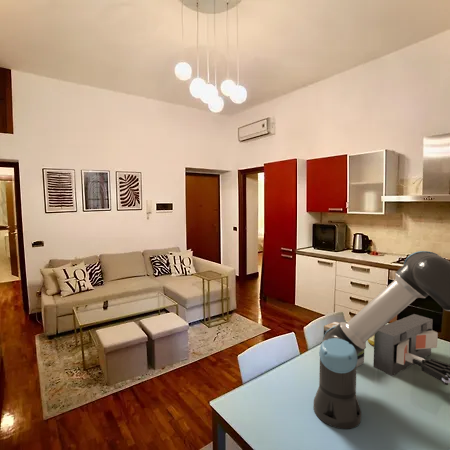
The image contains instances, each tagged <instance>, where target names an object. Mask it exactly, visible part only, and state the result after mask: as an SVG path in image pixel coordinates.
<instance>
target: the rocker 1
mask: <svg viewBox="0 0 450 450" xmlns="http://www.w3.org/2000/svg"><path fill="white" fill-rule="evenodd" d="M407 352H408V353H409V339H407V340H405V341H402V342H400V343H399V344H398V346H397V360H396V363H399V364H402V365H404V364H405V361H406V360H405V353H407Z"/></svg>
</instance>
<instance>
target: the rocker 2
mask: <svg viewBox="0 0 450 450" xmlns="http://www.w3.org/2000/svg"><path fill="white" fill-rule="evenodd" d="M438 335H439V333H438V332H437V331H435V330H433V329H432V330H431V331H424V332H422V333H420V334H417V335H416V350H417V349H427V348H431V349H434V348H438V337H439V336H438Z"/></svg>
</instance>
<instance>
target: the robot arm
mask: <svg viewBox="0 0 450 450" xmlns="http://www.w3.org/2000/svg"><path fill="white" fill-rule="evenodd" d="M394 275H395V278H394V280H392V281H391V283H389V284H388V285H387V286H386V287H385V288H384V289H382V291H380V292H379V294H377V295H376V296H375V297H374V298H373V299H372V300H371V301H370V302H368V303H367V304H366V305H365V306H363V308H362V309H361V310H360V311H358V312H357V313H356V314H355V315H354V316H353V317H352V318H350V319H349V320H348V321H347V322H346V321H345V322H344V321H341V322H339V323H340V324H338V325H337V326H335V327H332V328H330V329H329V330H328V331H327V332H326V333H325V335H324V334H323V337H322V342H321V344H320V347H319V352H318V353H319V374H318V375H319V378H318V380H319V381H318V382H319V383H318V385H319V386H318V389H317V391H316V394H315V396H314V399H313V411H314V414H315V415H316V416H317V418H318V419H319V420H320V421H322V422H323V423H324V424H327V425H328V426H331V427H333V428H337V429H343V430H348V429H349V430H350V429H353V428H356V427H357V426H359V425H360V423H361V420H362V410H361V407H360V404H359V401H358V396H357V370H358V369H357V368H358V367H357V355H358V354H359V353H361V352H362V351H363V350H364V351H365V349H366V348H367V346H366V343H367V342H368V339H369V338H371V337H372V336H373V335H374V334H375V333H376V332H378V331H379V330H380V329H381V328H382V327H384V326H385V325H387V324H389V322H391V321H392V320H393V319H394V318H396V317H397V316H398V315H399V314H400V313H401V312H403V311H404V310H405V309H406V308H407V307H408V306H410V305H411V304H412V303H413V302H415V300H416V299H426V298H428V296H430V297H431V298H432V299H433V300H434V301H435V302H436V303H437V304H438V305H439V306H440V307H441V308H442V309H443V310H444V311H446V312H450V261H449V260H448V259H447V258H444V257H442V256H441V255H440V254H437V253H435V252H433V251H425V250H420V251H416V252H413V253H411V254H409V255H408V256H407V257H406V259H405V260H404V263H403V265H402V266H401V267H399V268H398V269H397V271H396V272H395V273H394ZM405 360H406V361H408V362H411V363H413V365H416V366H418V367H421V372H423V373H425V374H427V375H429V376H431V377H433V378H434V379H436V380H438V381H439V382H442V384H444V386H445V385H446V386H449V384H450V364H449V363H446V362H444V361H439V360H436V359H433V358H429V359H428V358H427V359H425V358H420V357H418V356H415V355H413V354H410V353H408V352H407V353H405Z"/></svg>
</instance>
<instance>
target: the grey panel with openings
mask: <svg viewBox="0 0 450 450" xmlns="http://www.w3.org/2000/svg"><path fill="white" fill-rule="evenodd" d="M433 320H434V319H433V318H429V317H426V316H423V315H419V314H415V313H413V314H411V315H408V316H406V317H403V318H401V319H398V320H397V319H396V320H395V321H393V322H390V323H387V324H386V325H385V326H384V327H382V328H381V329H380V330H379V331H378V332H376V333H375V334H374V346H373V363H372V365H373V366H372V367H373V368H375V369H376V370H378V371H381V372H383V374H387V375H388V376H391V377H393V376H396V375H397V374H398V373H400V372H402V371H404V370H405V369H407V368H410V367H411V366H412V365H414V364H413V363H411V362H408V361H405V364H404V365H402V364H399V363H396V360H397V346H398V344H399V343H400V342H402V341H405V340H407V339H409V353H410V354H413V355H415V356H418V357H420V358H423V359H425V358H427V357H428V356H430V355H431V354H432V348H427V349H417V350H416V335H417V334H420V333H422V332H424V331H431V330H433Z"/></svg>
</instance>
